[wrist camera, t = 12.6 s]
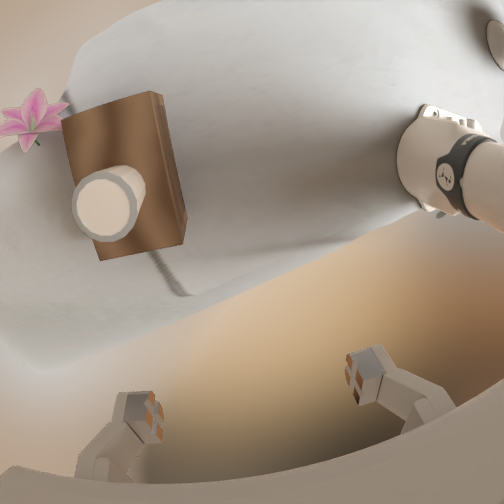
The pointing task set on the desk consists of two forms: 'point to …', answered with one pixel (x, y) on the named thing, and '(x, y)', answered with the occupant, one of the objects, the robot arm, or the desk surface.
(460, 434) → the robot arm
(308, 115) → the desk surface
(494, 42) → the chalice
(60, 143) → the desk surface
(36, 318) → the desk surface
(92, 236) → the cream tapered cup
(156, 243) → the walnut shelf
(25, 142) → the lily
